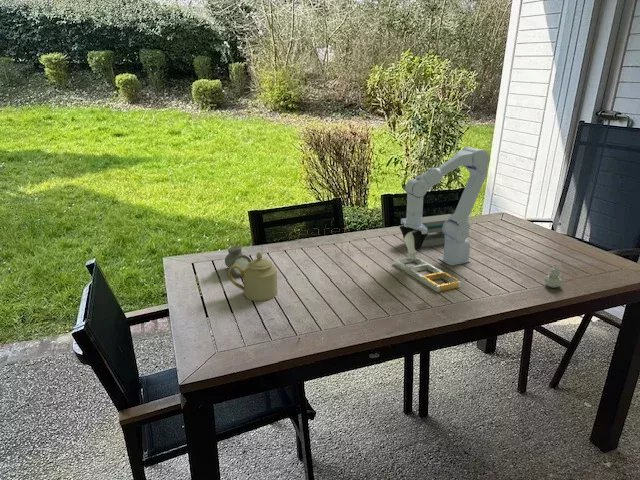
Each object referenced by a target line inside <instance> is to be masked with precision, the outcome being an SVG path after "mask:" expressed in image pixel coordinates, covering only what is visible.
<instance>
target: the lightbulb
mask: <svg viewBox="0 0 640 480" xmlns="http://www.w3.org/2000/svg"><path fill="white" fill-rule="evenodd" d="M412 232H414V231H412ZM412 232H409V233H407V234H406V235H405V238H403V241H404V242H405V243H404V245H405V244H406V245H405V246H406V247H407V248H406V249H407V252H408V257H409V259H411V260H414V259H415V258H416V257H417V256H416V255H417V251H418V250H415V245H414V237H413V234H412Z"/></svg>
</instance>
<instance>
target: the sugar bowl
mask: <svg viewBox="0 0 640 480" xmlns="http://www.w3.org/2000/svg"><path fill="white" fill-rule="evenodd" d="M255 257H256V258H254V259H253V260H251V262H249V263H248V264H247V267H248V268H246V269H245V270H244V271H243V269H242V268H241V266H239V265H236V264H235V265H232V266H231V267H230V268H229V267H228V271H227V274H228V279H229V280H230V282H231V283H232V285H234V286H235V287H237V288H238V289H240V290H242V291H243V292H244V297H245V298H246V299H248V300H250V301H253V302H265V301H269V300H272V299H274V298H275V297H276V296H278V273H277V268H276V267H275V266H273V262H272V261H270V260H269V259H266V258H263V254H262V253H261V252H257V253H256V256H255ZM233 268H237V269H239V271H240V273H241V276H242V277H241V278H242V279H243V285H242V284H240V283H238V282H237V281H236V280H235V279H234V277H233V276H232V272H231V270H232V269H233Z"/></svg>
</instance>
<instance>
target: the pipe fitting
mask: <svg viewBox="0 0 640 480" xmlns="http://www.w3.org/2000/svg"><path fill="white" fill-rule="evenodd" d="M242 250H243V247H242V246H241V245H235V246H231V247H229V248H228V249H227V252H228V254H227V255H226V256H225V258H224V263H225V265H226V267H227V268H228V269H229V268H230V267H231V266H232V265H235V264H236V265H239V266H241V268H242V269H243V271H244V270H245V269H246V268H248V267H247V264H248V263H249V262H251V261H252V260H251V258H250V257H249V256H247V255H246V254H243V253H242ZM231 274H233V275H234V276H236V277H238V278H239V277H240V278H242V276H241V273H240V271H239V269H237V268H233V269H232V270H231Z"/></svg>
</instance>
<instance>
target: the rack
mask: <svg viewBox="0 0 640 480" xmlns="http://www.w3.org/2000/svg"><path fill="white" fill-rule="evenodd" d="M408 263H409V264H410V263H416V264H417V265H411V266H408V265H406V264H408ZM393 265H394V266H395V267H397V268H398V269H400V270H401V271H403V272H405V273H406V274H408V275H410V276H411V277H413V278H414V279H416V280H417V281H419V282H420V283H422V284H424V285H425V286H427V287H428V288H430V289H432V290H433V291H434V292H435V293H439V292H443V291H444V292H445V291H449V290H452V289H459V288H461V287H462V281H460V279H458V278H456V277H454V276H453V275H452V274H450V273H447V272H446V271H443V270H441V269H439V268H438V267H436V266H434V265H432V264H431V263H429V262H427V261H425V260H424V259H421V258H420V257H418V256H416V258H415V259H414V260H411V259H409V256H405V257H401V258H395V259H393ZM422 271H429V272H431V273H429V274H424V275H422V274H421V273H419V272H422ZM439 279H443V280H444V281H446V282H447V283H442V284H441V283H440V284H438V283H436V282H435V281H434V280H439Z"/></svg>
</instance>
